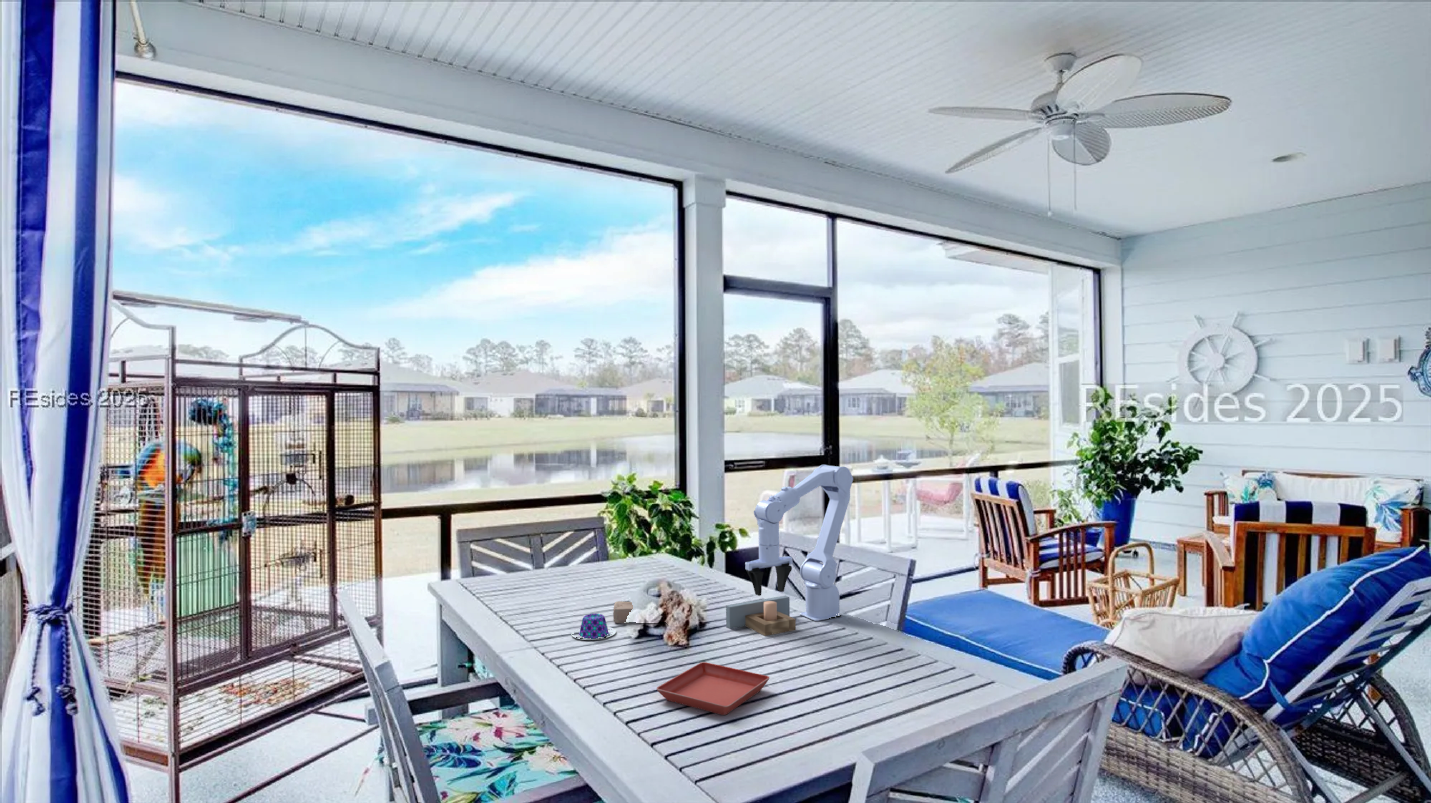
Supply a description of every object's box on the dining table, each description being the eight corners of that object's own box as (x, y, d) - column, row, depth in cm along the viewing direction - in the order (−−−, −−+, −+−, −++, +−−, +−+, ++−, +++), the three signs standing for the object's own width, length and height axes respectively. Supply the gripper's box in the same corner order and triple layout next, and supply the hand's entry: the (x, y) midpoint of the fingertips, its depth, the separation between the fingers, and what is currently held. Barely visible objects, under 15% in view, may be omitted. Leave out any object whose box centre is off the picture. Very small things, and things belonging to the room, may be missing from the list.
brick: (670, 614, 219) (670, 598, 219) (671, 622, 211) (671, 606, 211) (614, 616, 218) (614, 600, 218) (613, 625, 209) (612, 608, 209)
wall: (785, 616, 215) (785, 595, 215) (789, 617, 213) (789, 597, 213) (726, 627, 205) (726, 605, 205) (729, 628, 204) (729, 607, 204)
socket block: (775, 620, 211) (775, 610, 211) (795, 630, 202) (795, 619, 202) (745, 626, 206) (745, 615, 206) (765, 636, 197) (764, 624, 197)
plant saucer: (727, 722, 145) (727, 705, 145) (654, 703, 155) (654, 687, 155) (771, 691, 160) (771, 676, 160) (702, 675, 170) (702, 661, 170)
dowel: (775, 625, 206) (775, 600, 206) (777, 629, 202) (777, 604, 202) (763, 626, 206) (762, 601, 206) (764, 630, 202) (764, 604, 202)
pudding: (591, 645, 192) (590, 625, 192) (562, 636, 200) (562, 617, 200) (625, 634, 201) (625, 615, 201) (596, 625, 209) (596, 607, 209)
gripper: (782, 539, 212) (782, 586, 212) (739, 544, 205) (739, 593, 205) (796, 543, 206) (797, 591, 206) (752, 548, 199) (753, 599, 199)
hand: (769, 593), depth 205 cm, fingers open, 7 cm apart
